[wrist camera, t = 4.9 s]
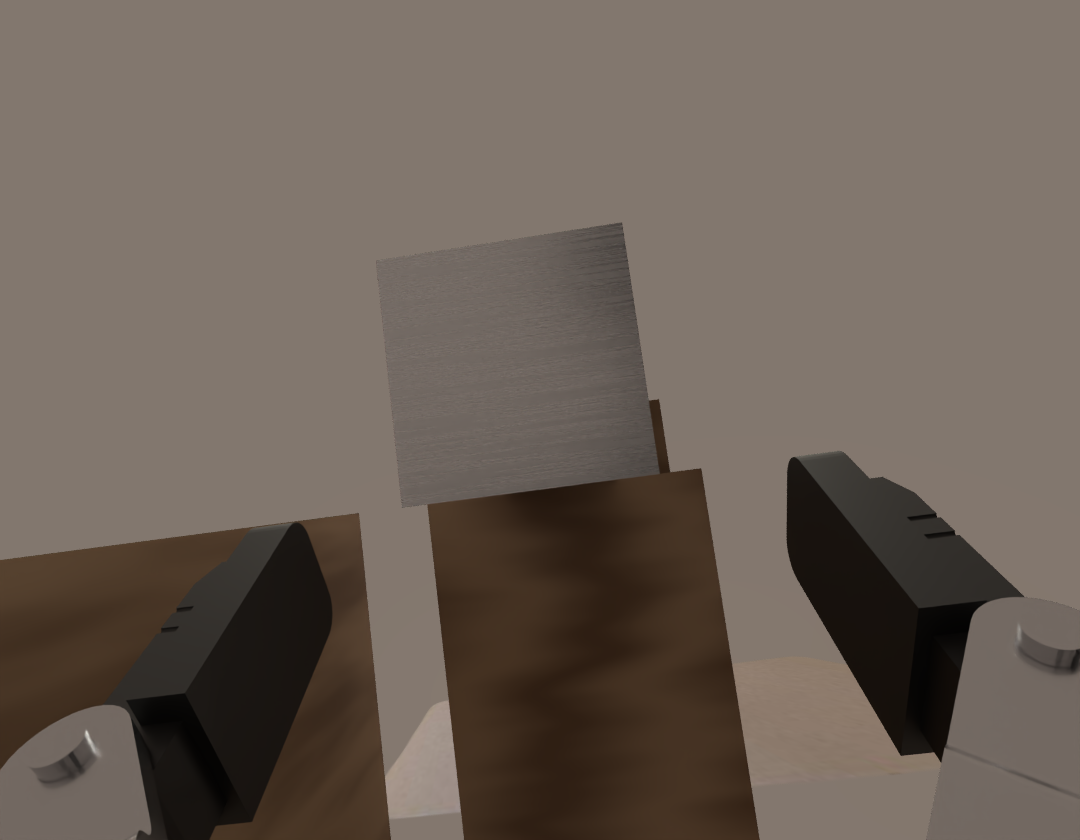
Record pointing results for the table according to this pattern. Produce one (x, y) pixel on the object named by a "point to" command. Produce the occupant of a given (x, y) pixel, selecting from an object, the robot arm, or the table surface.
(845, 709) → the table surface
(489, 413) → the grey metal bar
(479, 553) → the stand
